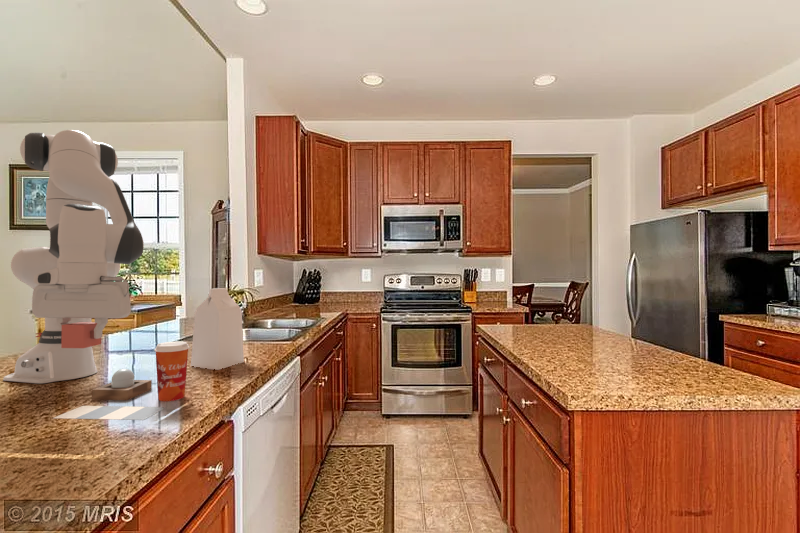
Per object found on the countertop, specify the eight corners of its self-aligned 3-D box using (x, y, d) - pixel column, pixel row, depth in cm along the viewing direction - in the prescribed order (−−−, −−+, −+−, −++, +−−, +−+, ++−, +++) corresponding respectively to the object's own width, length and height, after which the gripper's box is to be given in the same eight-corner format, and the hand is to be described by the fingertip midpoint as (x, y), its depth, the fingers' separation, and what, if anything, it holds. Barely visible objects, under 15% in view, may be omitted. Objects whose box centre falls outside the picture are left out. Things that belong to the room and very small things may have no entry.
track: (52, 420, 87) (52, 418, 87) (82, 408, 95) (82, 405, 95) (143, 422, 86) (143, 419, 86) (166, 409, 94) (166, 407, 94)
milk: (217, 359, 147) (218, 287, 147) (243, 362, 143) (244, 288, 144) (190, 366, 136) (191, 288, 136) (217, 369, 132) (218, 289, 132)
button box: (91, 401, 100) (91, 389, 100) (118, 391, 109) (118, 379, 109) (127, 402, 99) (127, 390, 99) (151, 391, 108) (151, 380, 108)
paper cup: (152, 406, 96) (153, 347, 96) (154, 397, 103) (155, 342, 103) (189, 402, 100) (190, 344, 100) (189, 393, 107) (190, 340, 107)
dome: (106, 396, 102) (106, 371, 102) (120, 391, 106) (120, 366, 106) (125, 397, 101) (125, 371, 101) (138, 391, 106) (138, 366, 106)
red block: (61, 347, 88) (61, 324, 89) (80, 343, 93) (80, 322, 94) (83, 348, 88) (83, 325, 88) (101, 344, 93) (101, 322, 93)
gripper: (137, 276, 94) (137, 336, 94) (52, 275, 95) (51, 335, 94) (117, 276, 87) (117, 341, 87) (26, 276, 88) (25, 340, 88)
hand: (82, 338), depth 91 cm, fingers closed on red block, 5 cm apart
